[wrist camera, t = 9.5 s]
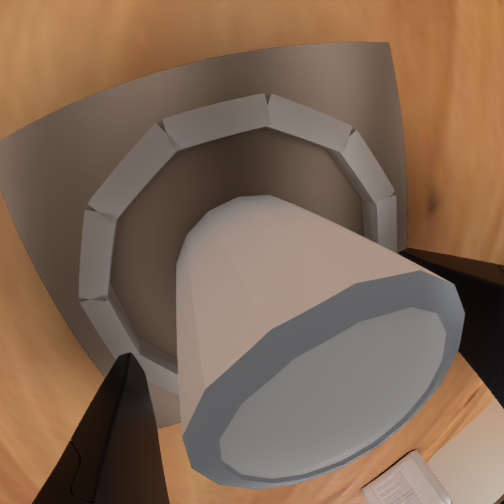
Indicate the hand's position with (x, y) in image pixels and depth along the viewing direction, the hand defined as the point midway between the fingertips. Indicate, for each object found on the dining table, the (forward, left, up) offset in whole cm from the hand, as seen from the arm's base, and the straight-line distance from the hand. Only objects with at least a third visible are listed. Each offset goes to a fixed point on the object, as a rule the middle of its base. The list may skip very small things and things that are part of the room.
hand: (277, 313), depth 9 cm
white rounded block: (-12, +41, -4) cm, 43 cm away
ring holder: (0, 0, -4) cm, 4 cm away
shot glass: (0, 0, -3) cm, 3 cm away
